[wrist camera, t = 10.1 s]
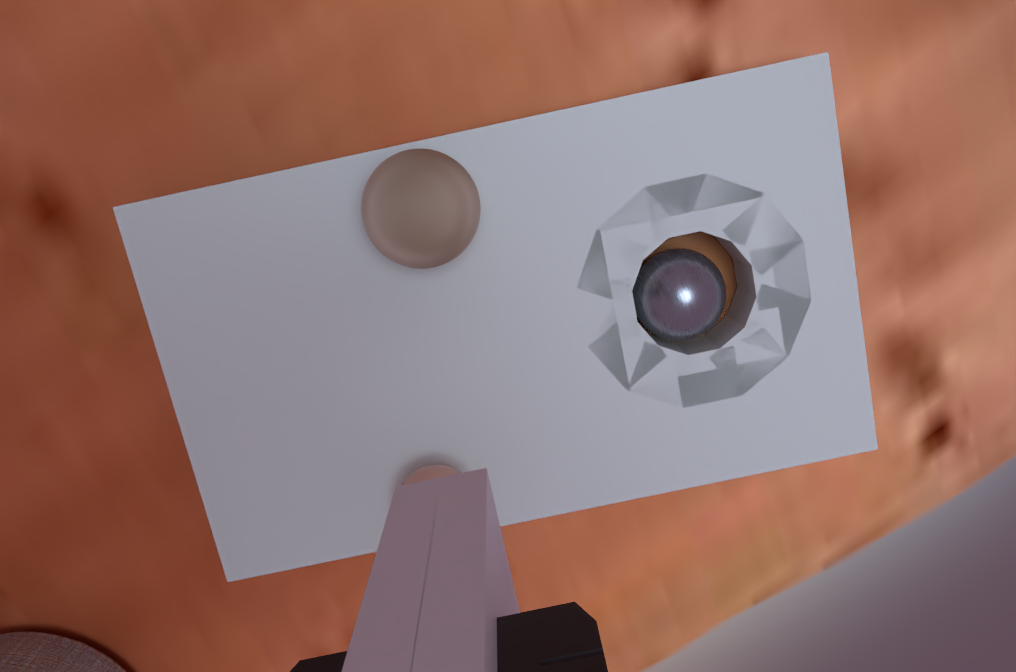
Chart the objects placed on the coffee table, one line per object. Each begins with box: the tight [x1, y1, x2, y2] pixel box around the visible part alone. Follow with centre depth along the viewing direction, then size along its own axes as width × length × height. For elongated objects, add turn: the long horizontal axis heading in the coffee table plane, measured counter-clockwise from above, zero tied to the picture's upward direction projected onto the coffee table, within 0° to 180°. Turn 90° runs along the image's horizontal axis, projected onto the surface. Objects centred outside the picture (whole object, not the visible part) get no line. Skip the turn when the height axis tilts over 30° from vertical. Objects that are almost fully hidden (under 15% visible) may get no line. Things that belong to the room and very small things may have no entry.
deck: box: [113, 52, 878, 582], centre depth 32 cm, size 26×15×2 cm, turn 102°
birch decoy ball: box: [361, 149, 481, 269], centre depth 28 cm, size 4×4×4 cm
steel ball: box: [632, 249, 726, 341], centre depth 31 cm, size 4×4×4 cm
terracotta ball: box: [401, 465, 460, 485], centre depth 30 cm, size 3×3×3 cm
